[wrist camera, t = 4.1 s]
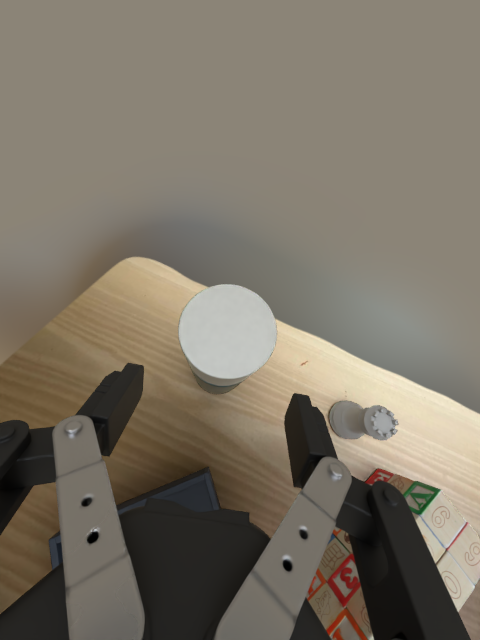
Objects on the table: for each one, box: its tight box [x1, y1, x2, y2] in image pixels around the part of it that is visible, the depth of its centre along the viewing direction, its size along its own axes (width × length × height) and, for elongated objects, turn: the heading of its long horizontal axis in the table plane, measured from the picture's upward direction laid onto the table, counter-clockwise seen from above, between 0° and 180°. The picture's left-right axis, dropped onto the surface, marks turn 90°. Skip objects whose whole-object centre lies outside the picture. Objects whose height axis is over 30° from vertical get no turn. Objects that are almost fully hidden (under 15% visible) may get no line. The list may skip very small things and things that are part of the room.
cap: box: [178, 284, 277, 386], centre depth 18 cm, size 6×6×5 cm
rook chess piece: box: [329, 401, 398, 440], centre depth 29 cm, size 4×4×8 cm
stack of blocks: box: [306, 468, 480, 640], centre depth 22 cm, size 21×6×12 cm, turn 126°
